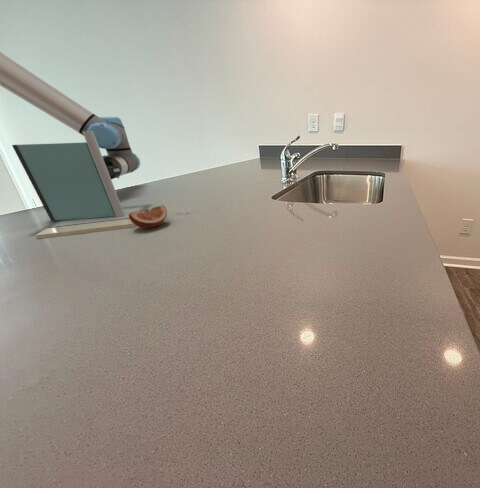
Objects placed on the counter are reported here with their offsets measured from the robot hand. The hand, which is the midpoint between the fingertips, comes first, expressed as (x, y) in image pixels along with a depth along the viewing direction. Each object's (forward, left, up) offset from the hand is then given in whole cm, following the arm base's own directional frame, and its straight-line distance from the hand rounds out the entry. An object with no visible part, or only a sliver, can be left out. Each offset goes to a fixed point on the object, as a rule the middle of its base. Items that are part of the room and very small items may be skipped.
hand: (60, 181), depth 68 cm
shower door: (+4, +1, -10) cm, 10 cm away
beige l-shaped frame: (+7, -4, -11) cm, 14 cm away
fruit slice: (+22, -14, -11) cm, 28 cm away
